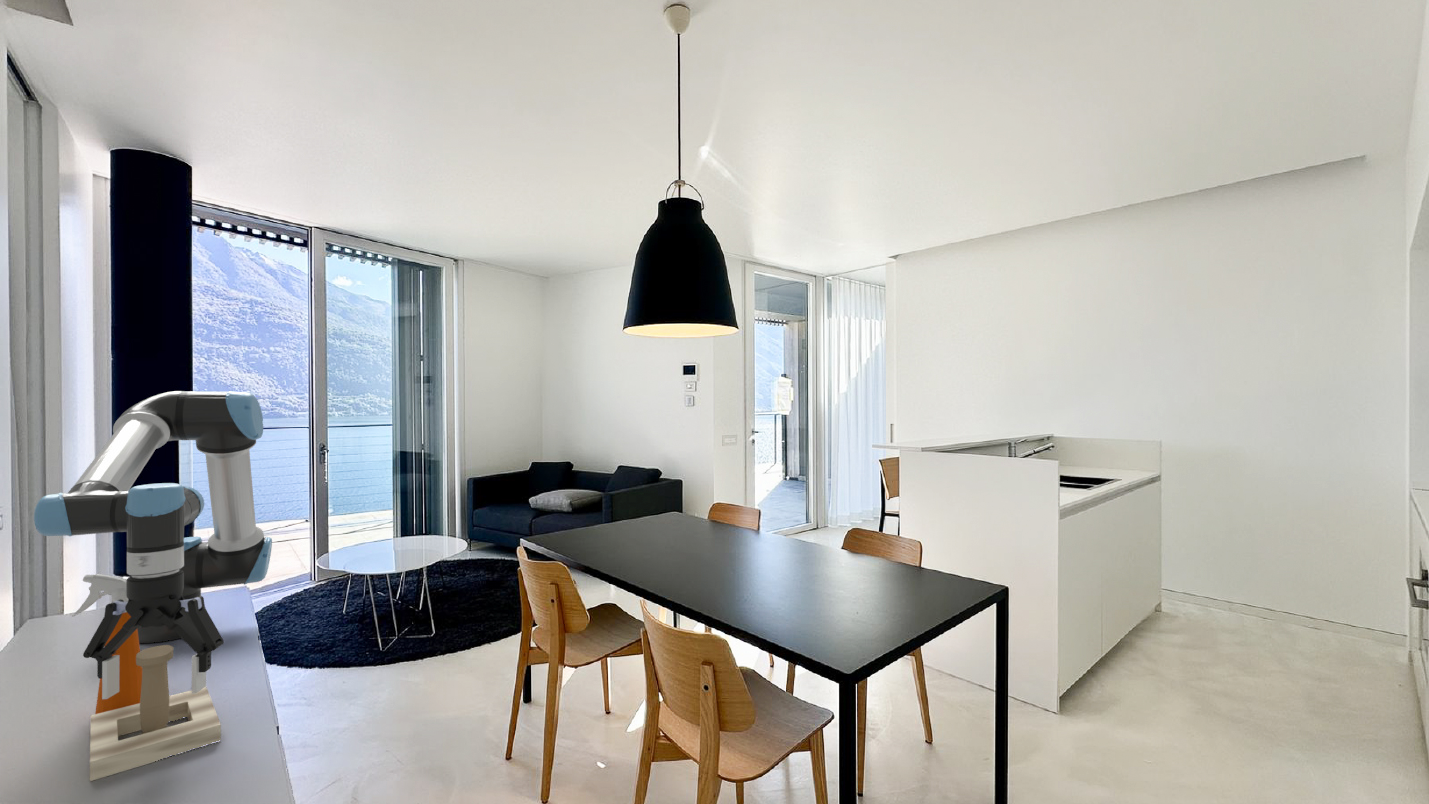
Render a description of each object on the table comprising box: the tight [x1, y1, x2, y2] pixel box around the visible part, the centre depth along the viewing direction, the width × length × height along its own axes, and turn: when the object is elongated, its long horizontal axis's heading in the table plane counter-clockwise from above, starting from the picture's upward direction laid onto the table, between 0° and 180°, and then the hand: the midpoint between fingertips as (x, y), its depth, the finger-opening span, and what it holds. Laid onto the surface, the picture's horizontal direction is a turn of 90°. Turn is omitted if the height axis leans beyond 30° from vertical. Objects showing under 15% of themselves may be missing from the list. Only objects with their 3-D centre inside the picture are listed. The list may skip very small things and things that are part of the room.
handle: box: [136, 644, 174, 735], centre depth 109 cm, size 5×6×15 cm
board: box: [89, 686, 222, 782], centre depth 109 cm, size 20×16×3 cm
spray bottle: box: [71, 572, 142, 715], centre depth 118 cm, size 7×11×26 cm, turn 111°
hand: (155, 692), depth 109 cm, fingers open, 13 cm apart
